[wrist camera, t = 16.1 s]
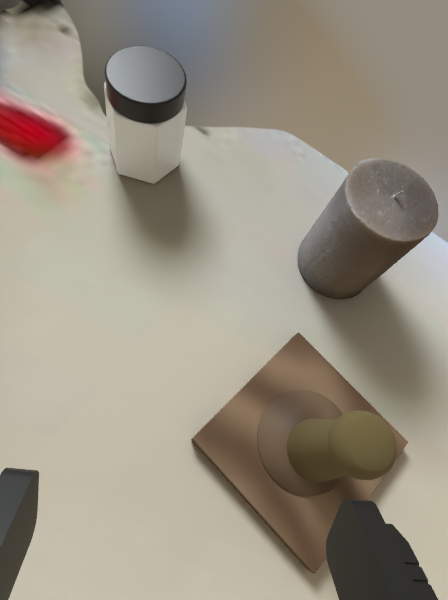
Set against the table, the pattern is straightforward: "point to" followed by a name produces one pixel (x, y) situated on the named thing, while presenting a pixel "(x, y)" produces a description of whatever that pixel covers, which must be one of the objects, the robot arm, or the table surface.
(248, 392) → the walnut board
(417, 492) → the table surface
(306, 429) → the cork
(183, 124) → the jar
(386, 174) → the pillar candle
